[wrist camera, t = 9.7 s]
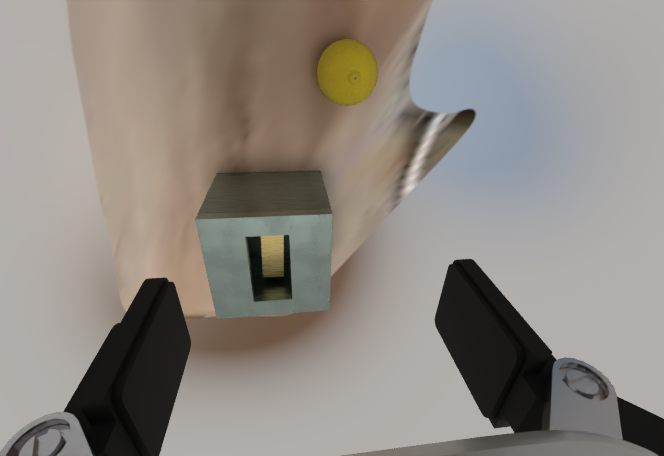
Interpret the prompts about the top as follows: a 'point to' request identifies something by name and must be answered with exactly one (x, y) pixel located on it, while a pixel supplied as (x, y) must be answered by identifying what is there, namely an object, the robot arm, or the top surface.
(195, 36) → the top surface
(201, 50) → the top surface
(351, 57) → the lemon
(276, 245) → the wooden block
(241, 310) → the coin box
